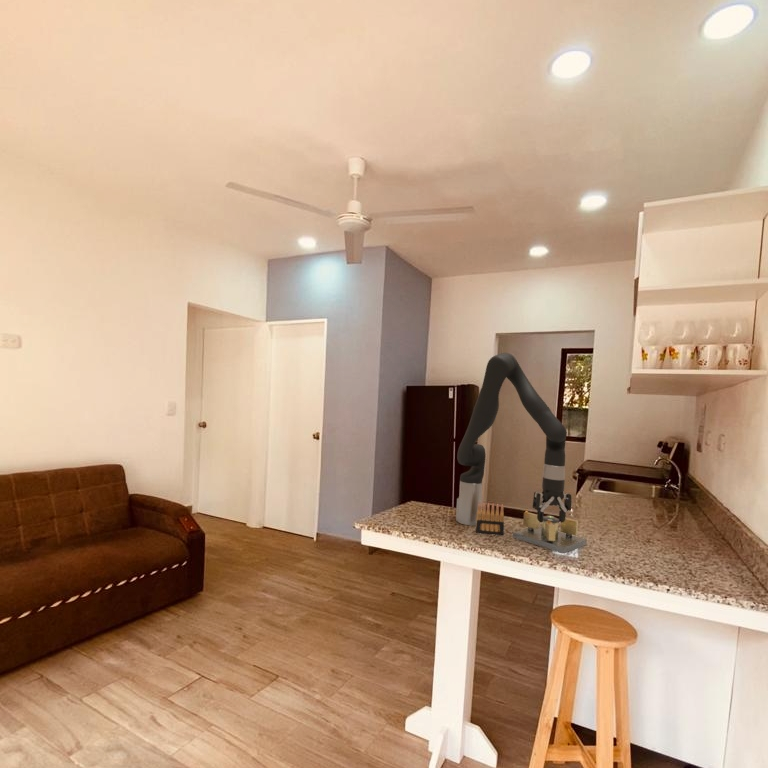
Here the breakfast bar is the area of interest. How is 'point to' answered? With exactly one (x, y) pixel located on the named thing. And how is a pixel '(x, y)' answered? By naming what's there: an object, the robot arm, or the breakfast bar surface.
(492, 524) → the ammunition clip
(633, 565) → the breakfast bar surface
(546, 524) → the knob front
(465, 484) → the robot arm
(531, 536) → the plate
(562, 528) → the cream rectangular block
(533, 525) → the block with orange knob
